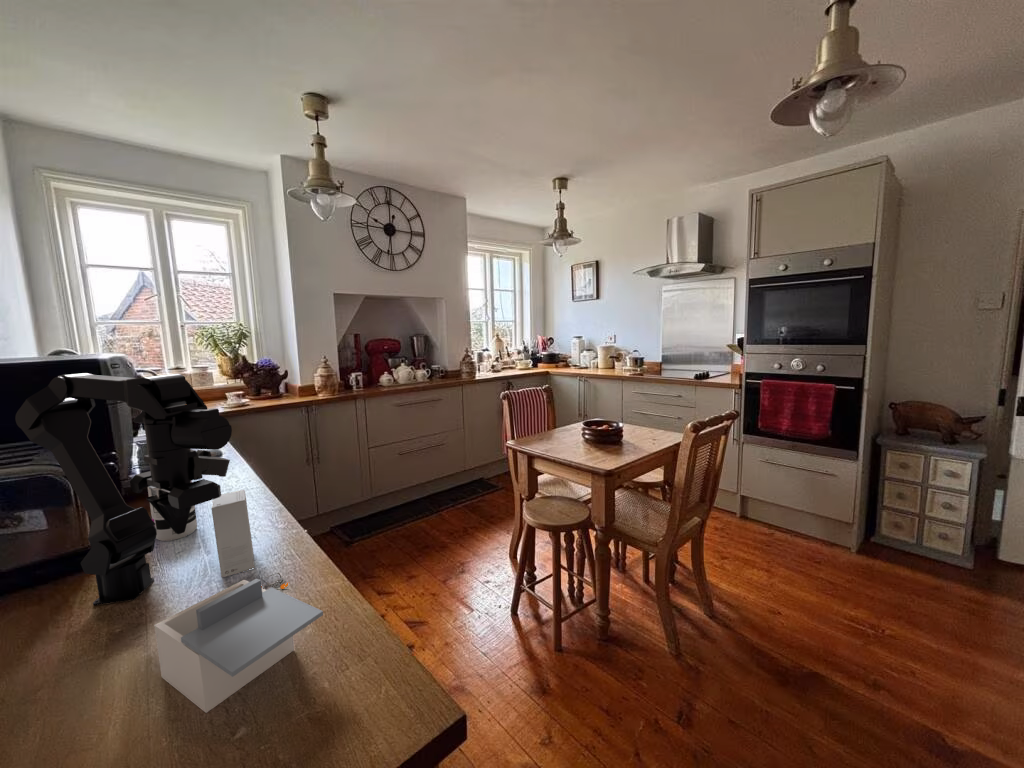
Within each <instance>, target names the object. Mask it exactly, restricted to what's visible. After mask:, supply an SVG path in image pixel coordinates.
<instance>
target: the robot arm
mask: <svg viewBox="0 0 1024 768" xmlns="http://www.w3.org/2000/svg"><path fill="white" fill-rule="evenodd" d="M95 400H105V401H111V402H112V401H115V402H122V403H125V404H126V405H127V406H128V407H129V408H131V409H135V410H138V411H141V412H140V413H139V414H137V416H135V417H134V418H133V423H135V424H144V425H143V426H144V427H143V428H144V435H145V440H146V447H147V448H146V449H147V455H146V454H145V455H143V462H145V463H148V464H149V470H148V471H145V472H141V473H137V474H135V475H134V476H133V477H132V478H131V480H129V484H130V491H131V492H133V493H136V494H140V493H142V492H143V490H144V488H148V487H149V489H151V491H152V496H150V497H149V496H148V497H146V501H147V502H149V504H150V503H151V504H152V505H153V507H154V508H155V509H156V510H157V511H158V512H159V514H160V515H161V516H162V517H163V518H164V520H165V521H166V522H167V523H168V525H169V526H170V527H171V528H172V529H173V531H174V532H175V533H176V534H181V533H184V532H185V529H186V525H187V521H188V517H189V513H190V510H191V507H192V506H194V505H195V506H197V505H200V504H203V503H206V502H210V501H213V499H216V498H219V497H220V496H221V494H222V491H221V485H220V484H218V483H216V482H215V481H212V480H208V479H205V478H203V476H218V477H221V478H223V477H226V476H227V472H228V469H229V465H230V462H231V460H230V459H228V458H223V457H218V456H212V453H211V451H212V450H215V451H216V450H221V449H222V448H224V447H226V445H228V443H229V441H230V440H231V437H232V434H233V432H232V430H233V429H232V425H231V424H230V422H229V420H228V419H227V418H226V417H225V416H222V415H220V410H219V408H208V406H207V404H206V403H205V402H204V399H203V398H201V397H200V395H199V394H198V392H196V391H195V389H194V387H193V386H192V385H191V384H190V381H189V382H188V380H187V379H186V376H185V375H183V374H181V373H169V374H161V375H152V376H141V377H127V376H126V377H125V376H115V375H114V376H112V375H97V374H92V373H88V372H82V373H71V374H61V375H57V376H56V377H54V378H53V379H51V380H50V382H49V383H48V385H47V386H45V387H44V388H41V389H40V390H39V391H37V392H35V393H34V394H32V395H30V396H29V397H28V398H27V397H26V399H25V401H24V402H23V403H22V404H21V406H20V408H19V409H18V410H17V412H16V413H15V423H16V425H17V427H18V428H19V429H21V431H22V432H23V433H24V434H25V436H26V437H27V438H28V439H29V441H30V442H32V443H34V444H36V445H37V446H40V447H41V448H45V449H46V450H48V451H51V453H52V454H53V456H54V458H55V459H56V461H57V463H58V465H59V466H60V468H61V470H62V471H63V473H64V475H65V477H66V478H67V480H68V482H69V484H70V485H71V487H72V489H73V490H74V492H75V494H76V495H77V497H78V499H79V500H80V502H81V504H82V506H83V508H84V509H85V511H86V513H87V515H88V516H89V518H90V519H91V524H90V528H89V533H88V536H87V540H88V542H89V544H90V546H91V548H90V549H89V551H88V552H87V554H86V555H85V556H84V558H83V559H81V561H80V566H81V569H82V571H83V573H84V574H86V575H95V579H96V580H95V581H96V587H97V593H98V597H97V599H96V600H94V601H93V602H92V606H101V605H109V604H115V603H121V602H127V601H135V600H136V599H137V598H138V597H139V596H140V595H141V594H143V592H144V591H145V590H146V589H147V588H148V587H149V586H150V585H151V584H153V583H154V582H155V578H154V577H152V575H151V568H150V564H149V563H148V562H147V559H146V558H147V557H146V555H147V554H149V553H153V552H154V549H155V543H156V540H157V539H156V535H157V530H156V527H155V526H154V525H155V523H154V522H153V521H152V517H151V516H150V515H149V512H148V510H147V509H146V508H145V507H143V506H141V507H138V508H135V507H132V506H130V505H128V504H127V503H126V502H125V500H124V498H123V496H122V495H121V493H120V491H119V489H118V488H117V486H116V484H115V483H114V481H113V479H112V478H111V476H110V474H109V472H108V470H107V469H106V467H105V465H104V463H103V462H102V460H101V459H100V457H99V455H98V454H97V452H96V450H95V449H94V447H93V445H92V443H91V442H90V439H89V434H90V430H91V429H90V428H91V425H92V419H91V418H90V413H91V412H92V411H93V409H94V408H95V407H96V401H95ZM209 450H211V451H209ZM191 481H192V482H191Z"/></svg>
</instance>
